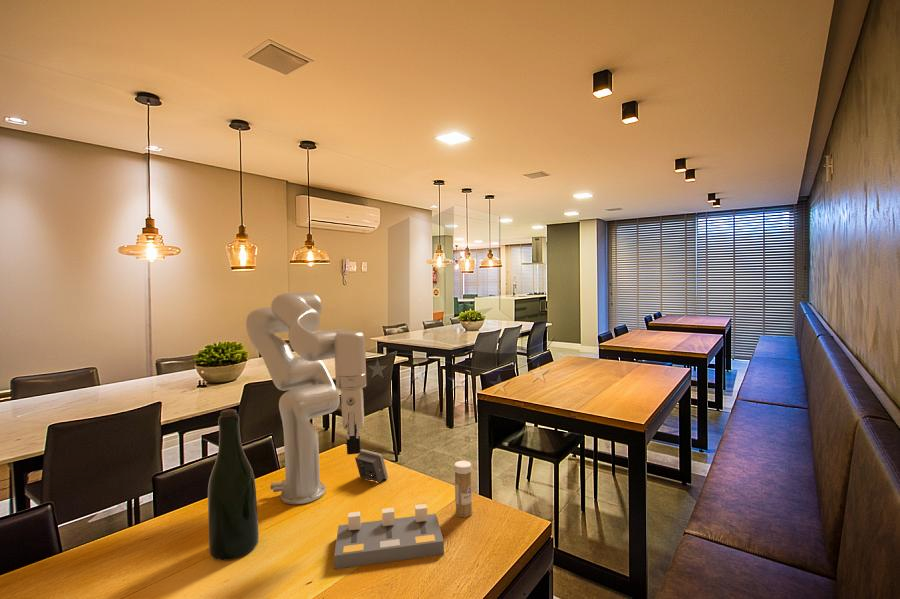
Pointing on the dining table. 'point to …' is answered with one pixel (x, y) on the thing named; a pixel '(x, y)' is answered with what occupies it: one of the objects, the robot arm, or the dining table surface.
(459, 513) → the sprinkles bottle
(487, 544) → the dining table surface
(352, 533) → the switch panel
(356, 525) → the slider left
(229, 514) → the beer bottle
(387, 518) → the slider middle
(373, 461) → the electrical switch
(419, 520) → the slider right
